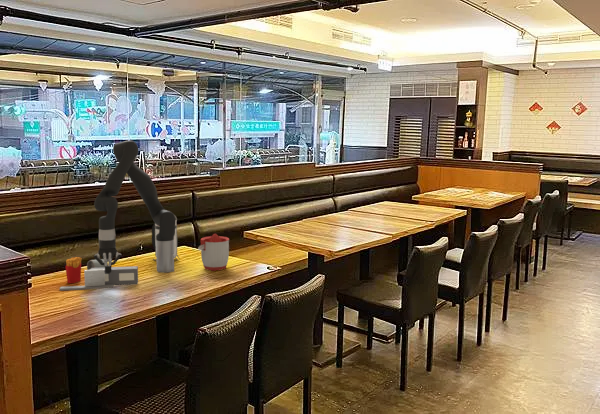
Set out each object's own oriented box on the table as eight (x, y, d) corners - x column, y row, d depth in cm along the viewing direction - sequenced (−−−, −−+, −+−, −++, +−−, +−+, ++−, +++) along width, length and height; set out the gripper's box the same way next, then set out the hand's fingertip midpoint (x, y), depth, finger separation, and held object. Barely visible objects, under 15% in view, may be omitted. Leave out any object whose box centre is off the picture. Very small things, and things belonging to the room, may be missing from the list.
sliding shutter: (105, 284, 259) (104, 269, 258) (104, 285, 258) (104, 269, 257) (85, 285, 257) (84, 270, 256) (84, 286, 256) (84, 270, 255)
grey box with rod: (138, 281, 270) (137, 266, 269) (136, 287, 261) (136, 271, 260) (63, 284, 262) (63, 269, 261) (59, 290, 253) (58, 274, 252)
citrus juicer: (193, 267, 299) (193, 232, 296) (221, 263, 309) (221, 229, 306) (204, 274, 286) (204, 237, 284) (234, 270, 296) (234, 234, 293)
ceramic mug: (108, 272, 285) (108, 258, 284) (94, 275, 279) (94, 261, 278) (97, 269, 292) (96, 256, 291) (83, 272, 285) (82, 258, 284)
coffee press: (181, 256, 324) (180, 207, 320) (177, 263, 308) (176, 211, 304) (152, 256, 323) (151, 207, 319) (146, 263, 307) (145, 211, 303)
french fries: (70, 284, 264) (69, 260, 262) (64, 282, 266) (63, 259, 264) (84, 280, 271) (83, 256, 270) (78, 278, 273) (77, 255, 271)
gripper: (122, 236, 261) (123, 270, 263) (93, 236, 258) (94, 271, 260) (121, 239, 254) (122, 274, 256) (91, 240, 251) (92, 276, 253)
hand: (108, 273), depth 258 cm, fingers closed
